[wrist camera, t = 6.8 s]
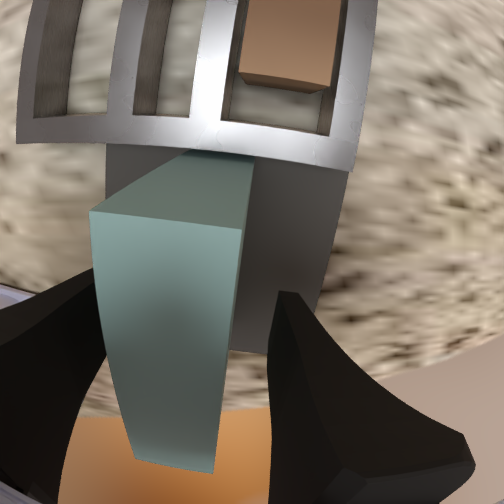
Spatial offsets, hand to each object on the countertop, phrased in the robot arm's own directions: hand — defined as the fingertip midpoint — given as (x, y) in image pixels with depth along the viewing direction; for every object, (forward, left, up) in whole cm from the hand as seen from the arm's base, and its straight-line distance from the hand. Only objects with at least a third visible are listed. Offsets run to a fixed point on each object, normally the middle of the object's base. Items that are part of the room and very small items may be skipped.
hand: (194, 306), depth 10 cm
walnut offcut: (+10, -2, -5) cm, 11 cm away
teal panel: (0, 0, -4) cm, 4 cm away
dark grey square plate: (0, 0, -5) cm, 5 cm away
